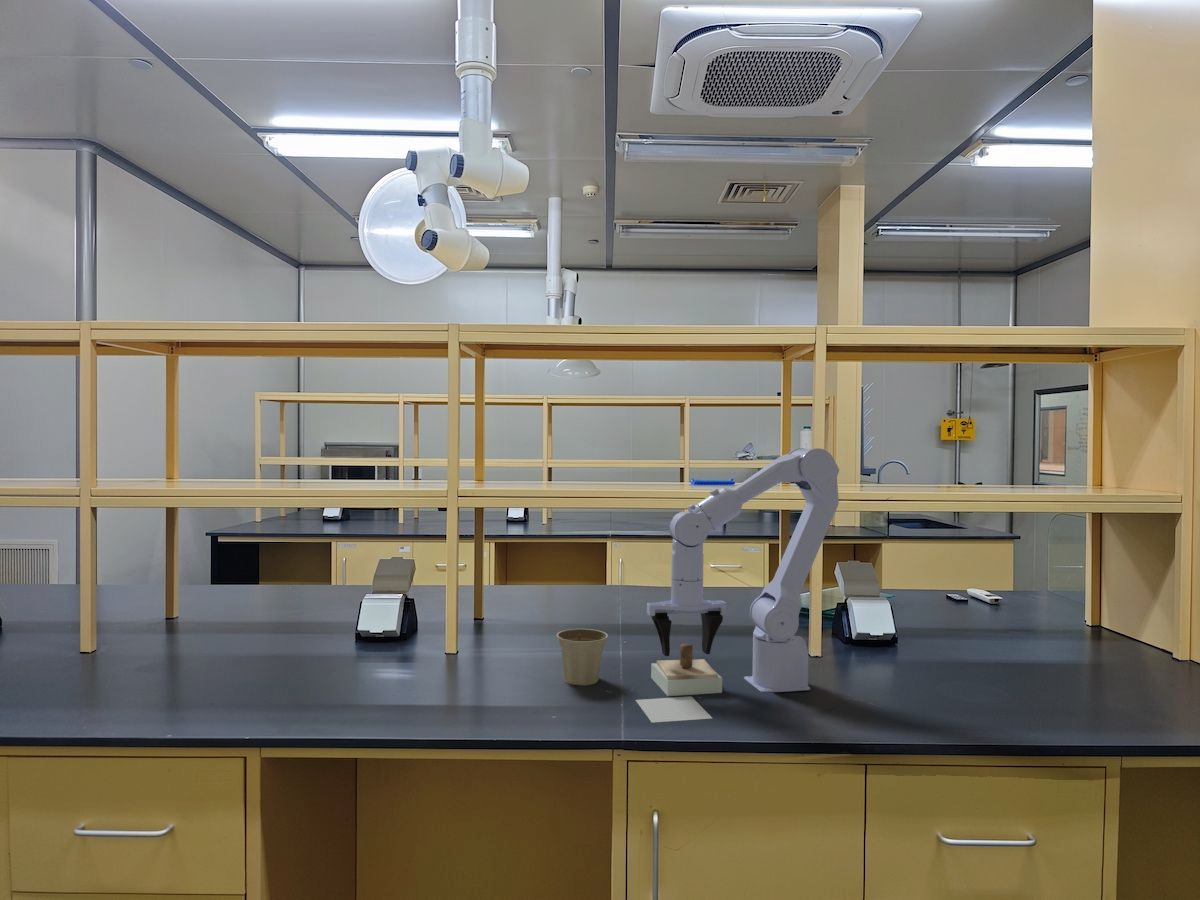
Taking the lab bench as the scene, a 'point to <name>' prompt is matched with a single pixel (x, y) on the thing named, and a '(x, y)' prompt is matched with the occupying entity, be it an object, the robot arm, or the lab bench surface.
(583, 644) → the flower pot
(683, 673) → the lid
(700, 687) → the dish
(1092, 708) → the lab bench surface
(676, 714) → the mat
